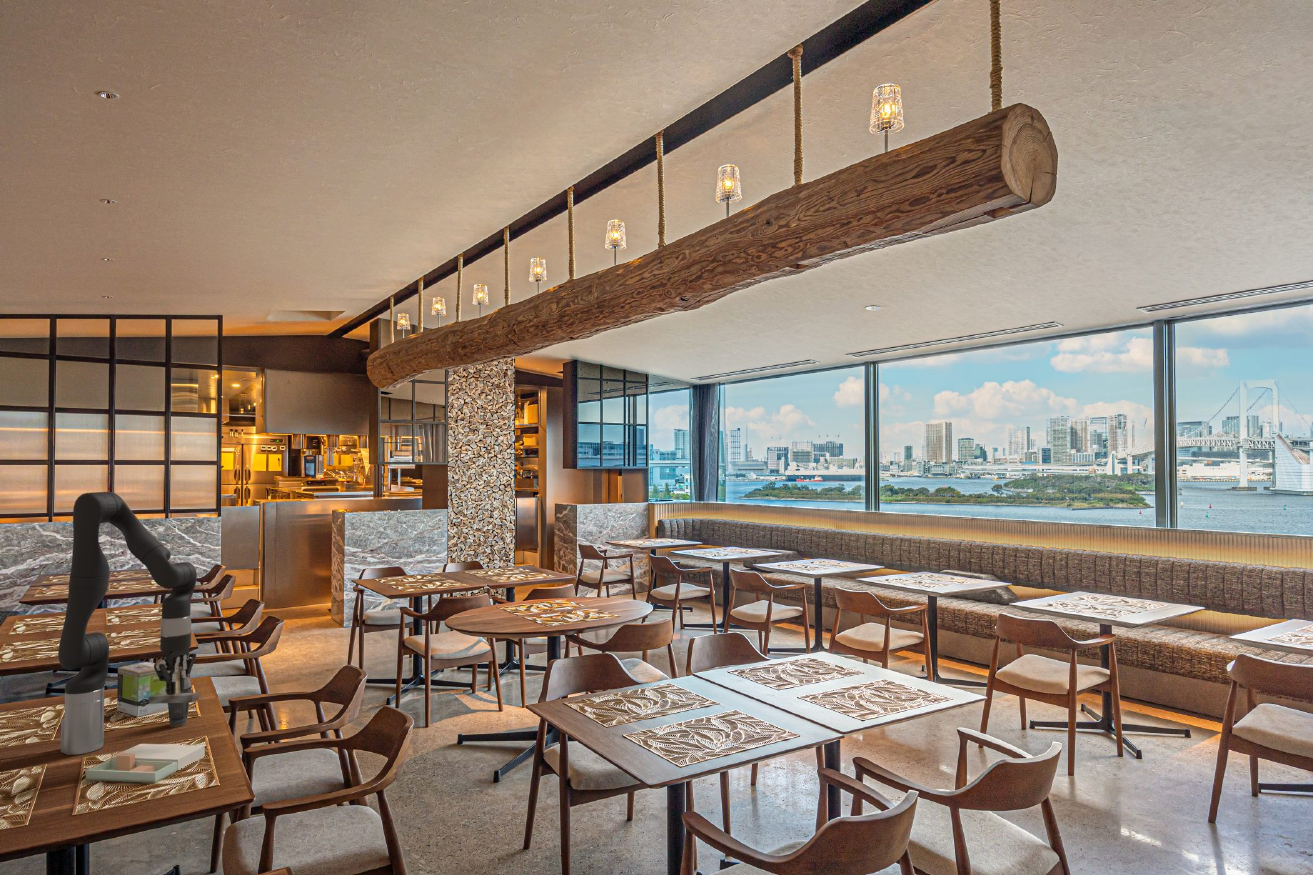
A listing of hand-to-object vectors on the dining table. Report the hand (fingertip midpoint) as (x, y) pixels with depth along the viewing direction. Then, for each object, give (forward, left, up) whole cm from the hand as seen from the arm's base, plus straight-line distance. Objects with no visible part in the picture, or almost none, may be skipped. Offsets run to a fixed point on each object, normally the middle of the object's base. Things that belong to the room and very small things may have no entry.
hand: (175, 692), depth 216 cm
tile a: (-3, -13, -14) cm, 20 cm away
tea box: (-41, +35, -17) cm, 57 cm away
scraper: (0, 0, -3) cm, 3 cm away
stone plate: (+1, -7, -17) cm, 18 cm away
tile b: (+4, -17, -15) cm, 23 cm away
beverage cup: (-17, +22, -17) cm, 33 cm away
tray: (+1, -16, -17) cm, 23 cm away
